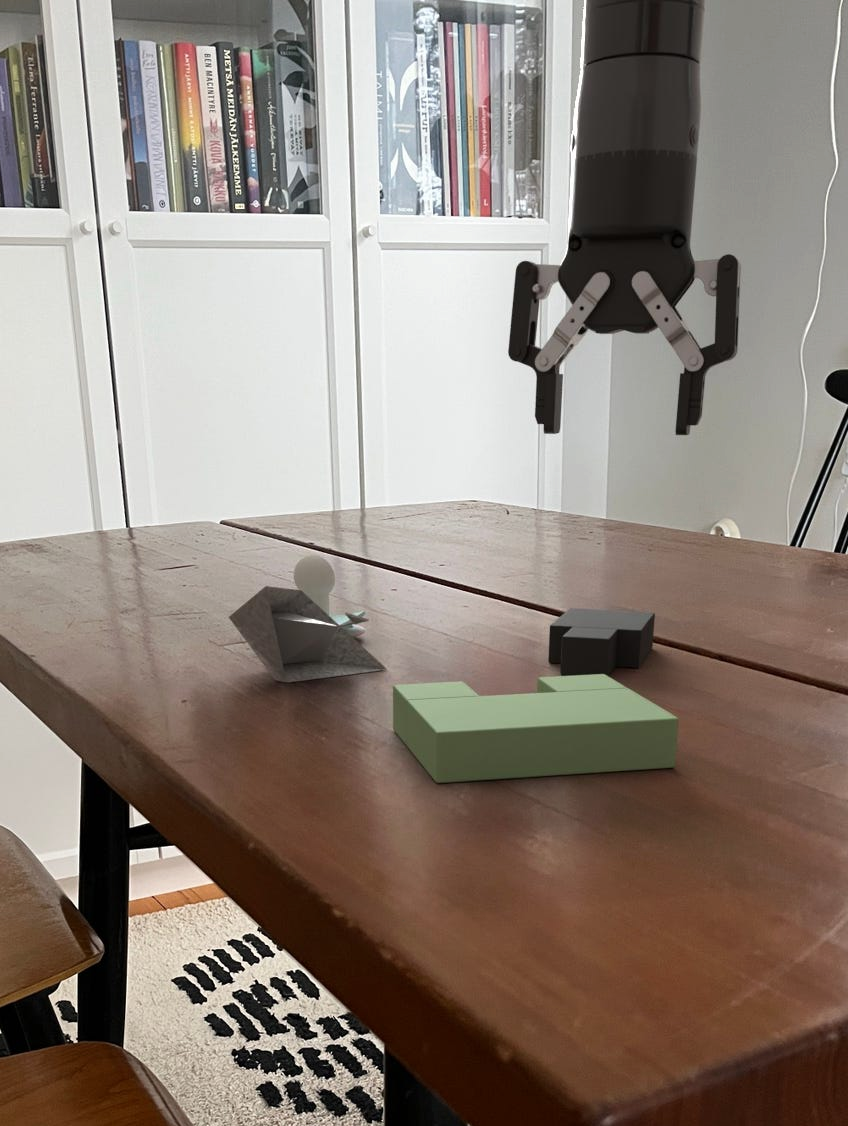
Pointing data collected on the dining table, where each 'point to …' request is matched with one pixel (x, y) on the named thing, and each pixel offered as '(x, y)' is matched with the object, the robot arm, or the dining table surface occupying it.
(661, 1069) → the dining table surface
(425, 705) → the green pad
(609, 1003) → the dining table surface
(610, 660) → the black pad
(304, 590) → the pacifier
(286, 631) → the paper boat
